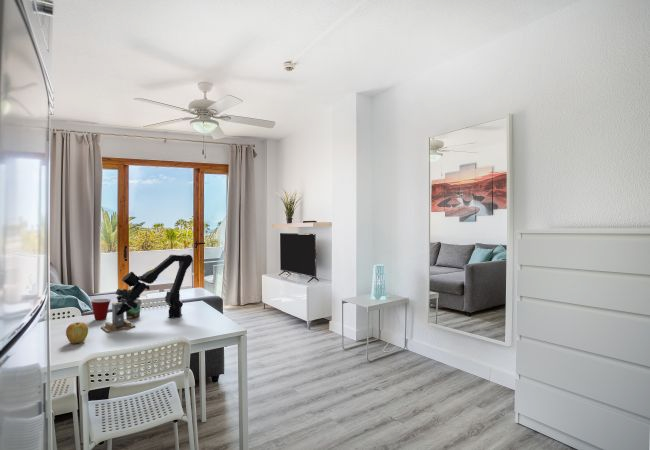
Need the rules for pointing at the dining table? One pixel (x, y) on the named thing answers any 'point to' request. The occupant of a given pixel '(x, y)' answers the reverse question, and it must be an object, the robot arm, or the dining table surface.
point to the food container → (134, 311)
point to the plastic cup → (100, 308)
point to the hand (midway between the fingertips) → (115, 314)
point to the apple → (77, 332)
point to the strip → (116, 319)
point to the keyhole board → (111, 327)
